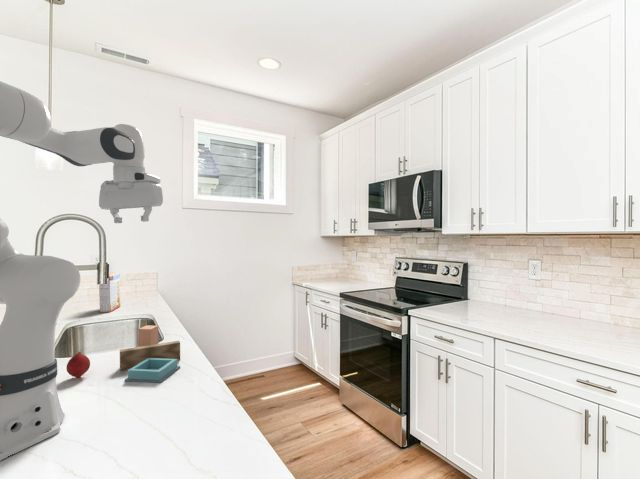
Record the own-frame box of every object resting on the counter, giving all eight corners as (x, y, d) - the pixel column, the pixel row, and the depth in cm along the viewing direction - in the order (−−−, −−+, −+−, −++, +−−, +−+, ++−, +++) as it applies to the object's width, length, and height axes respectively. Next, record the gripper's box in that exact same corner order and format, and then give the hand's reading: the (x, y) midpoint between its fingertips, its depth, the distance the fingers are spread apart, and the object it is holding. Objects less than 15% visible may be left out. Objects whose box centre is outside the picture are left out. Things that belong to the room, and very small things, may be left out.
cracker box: (109, 307, 199) (109, 272, 199) (120, 306, 200) (120, 272, 200) (98, 312, 185) (98, 275, 185) (110, 312, 187) (110, 274, 186)
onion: (77, 382, 98) (77, 355, 98) (61, 380, 100) (61, 354, 99) (94, 374, 104) (94, 349, 104) (79, 373, 105) (79, 347, 105)
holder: (160, 383, 98) (160, 372, 98) (124, 381, 99) (124, 371, 99) (180, 367, 109) (180, 358, 109) (147, 366, 110) (147, 357, 110)
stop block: (150, 357, 119) (150, 329, 118) (138, 356, 119) (138, 328, 119) (158, 352, 123) (158, 325, 123) (146, 352, 124) (146, 325, 123)
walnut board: (179, 357, 118) (179, 340, 118) (180, 359, 116) (180, 342, 116) (119, 368, 109) (119, 349, 109) (119, 370, 107) (119, 352, 107)
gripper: (92, 179, 104) (94, 223, 104) (151, 174, 101) (153, 219, 101) (108, 182, 110) (110, 224, 110) (164, 177, 107) (166, 221, 107)
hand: (131, 222), depth 105 cm, fingers open, 8 cm apart
